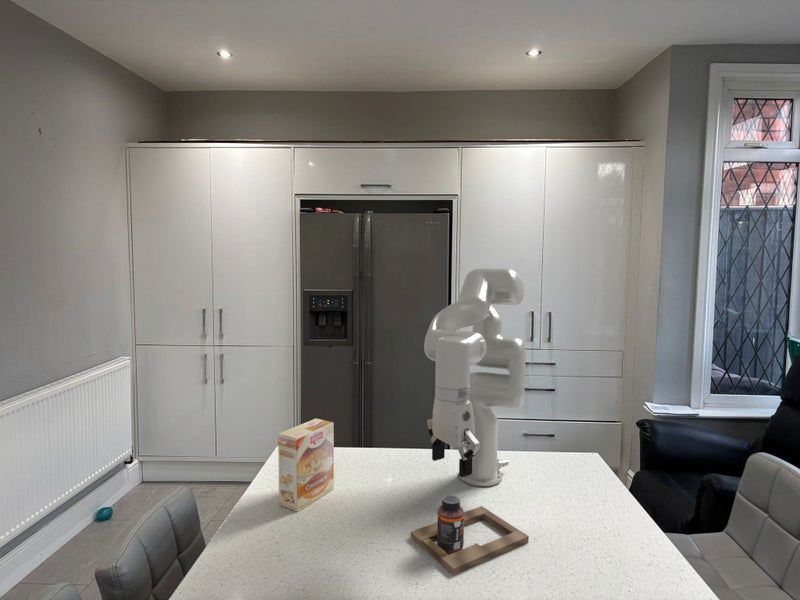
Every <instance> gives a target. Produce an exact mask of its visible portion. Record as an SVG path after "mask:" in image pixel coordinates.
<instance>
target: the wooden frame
mask: <svg viewBox="0 0 800 600" xmlns="http://www.w3.org/2000/svg"><path fill="white" fill-rule="evenodd" d="M483 520H484V521H486V522H487V523H488V524H490V525H491V526H493V527H494V528H496V529H498V530H499V529H500V530H499V531H501V532H502V531H503V532H502V533H503V534H505V535H504V536H501V537H498V538H496V539H494V540H491V541H489V542H487V543H484V544H482V545H480V544H479V543H474V544H472V545H469V546H467V547H463V549H462V550H459V551H457V552H455V553H446V552H445V551H444V550H443V549H441V548H440V547H439V546H438V545H437V543H435V542H437V524H438V523H437V522H438V521H436V522H433V523H431V524H428V525H425V526H422V527H419V528H417V529H414V530H411V531H410V539H411V540H412V541H414V542H415V543H416V544H417V545H418V546H419V547H421V549H423V550H424V551H425V552H426V553H427V554H428V555H430V556H431V557H432V558H433V559H434V560H435V561H436V562H438V563H439V564H440V565H441V566H442V567H444V569H445V570H447V571H448V572H449V573H450V574H451V575H452V576H455V575H458V574H460V573H462V572H464V571H467V570H469V569H471V568H473V567H476V566H477V565H480V564H482V563H485V562H487V561H490V560H491V559H494V558H496V557H498V556H501V555H503V554H506V553H507V552H510V551H512V550H514V549H515V550H516V548H519V547H522V546H523V545H526V544H528V543H529V535H527V534H526V533H525V532H523V531H522V530H520V529H518V528H516V527H515V526H514V525H512V524H510V523H509V522H507V521H506V520H504V519H503V518H501V517H499V516H498V515H497V514H495V513H494V512H491V511H490V510H489V509H487V508H485V507H484V506H483V505H481V506H478V507H476V508H471V509H469V510H467V511H464V527H466V526H469V525H471V524H475V523H477V522H480V521H483ZM476 521H477V522H476ZM474 522H475V523H474ZM506 534H507V535H506Z"/></svg>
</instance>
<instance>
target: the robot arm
mask: <svg viewBox="0 0 800 600" xmlns="http://www.w3.org/2000/svg"><path fill="white" fill-rule="evenodd" d="M523 281H524V280H523V279H522V277H521V276H520V274H518V272H516V271H515V270H513V269H510V268H475V269H472V270H471V271H469V272H468V273H467V275H466V277H465V278H464V281H463V284H462V287H461V290H460V292H459V293H460V294H459V296H458V299H457V301H455V302H453V303H451V304H449V305H447V306H446V307H445V308H443V309H441V311H439V312H438V313H436V315H434V316H433V318H432V320H431V322H430V325H429V327H428V329H427V332H426V334H425V338H424V342H423V343H424V344H423V348H424V349H423V351H424V353H425V356H426V357H427V358H428V359H429V360H430V361H433V362H435V387H434V391H435V392H434V393H435V394H434V395H435V396H434V400H433V409H432V418H431V419H427V420H426V422H427V423H426V425H427V429H428V434H429V436H430V443H431V444H432V445H431V460H432V461H434V462H435V461H439V460H443V459H445V452H446V451H445V449H446V446H445V445H446V444H448V446H451V448H452V447H453V448H455V449H457V451H458V453H459V456H460V457H461V458H459V460H458V461H459V463H458V465H459V466H458V476H459V478H460V479H461V481H463V482H464V483H466V484H469V485H471V486H477V487H491V486H492V487H493V486H496V485H498V484H499V483H501V482H502V480H503V474H502V473H503V472H501V471H500V469H502V468H503V467H507V466H509V460H508V459H506V458H505V459H501V460H500V458H498V442H499V441H498V439H499V437H498V433H499V432H498V431H499V421H498V417H497V414H496V413H495V411H494V410H493V409H492V408H493V407H495V408H504V409H518V408H521V406H522V404H523V402H524V398H525V382H526V381H525V380H526V363H527V351H526V346H525V343H524V341H523V340H522V339H520V338H518V337H514V336H503V335H502V327H503V326H502V323H503V322H502V318H501V315H500V314H499V313H498V312H497V310H496V309H495V307H493V306H492V305H496V306H497V305H499V306H500V305H501V306H517V305H520V304H521V302H522V301H523V300H524V296H525V285H524V282H523ZM468 327H472V331H466V330H460V329H465V328H468ZM471 366H476V367H479V368H486V369H498V370H506V371H508V373H509V374H507V373H506V374H505V373H497V372H496V373H495V372H488V371H473V372H471Z"/></svg>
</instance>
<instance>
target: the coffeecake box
mask: <svg viewBox="0 0 800 600" xmlns="http://www.w3.org/2000/svg"><path fill="white" fill-rule="evenodd" d="M334 426H335V425H334V422H333V421H330V420H329V421H328V420H325V419H320V418H313V419H312V420H309V421H306V422H304V423H301V424H299V425H296V426H294V427H292V428H289V429H286V430H285V431H284V430H283V431H281V432H279V433H278V434H277V438H278V439H277V440H278V441H277V443H278V447H277V448H278V449H277V451H278V505H279V506H281V505H282V506H281V507H285V508H286V507H287V509H289V508H290V509H289V510H291V509H292V510H291V511H293V510H294V511H293V512H296V511H297V512H296V513H298V511H299V512H300V511H302V510H304V509H305V508H306V507H308V506H309V505H311V504H312V503H315V502H316V501H317V500H319V499H321V498H323V496H325V495H327V494H328V493H330V492H331V491H334V489H335V486H334V485H335V480H334V479H335V473H334V472H335V470H334V469H335V467H334V466H335V462H334V461H335V458H334V456H335V455H334V453H335V452H334V451H335V450H334V448H335V447H334V445H335V443H334V442H335V438H334V436H335V435H334V428H335V427H334ZM301 509H302V510H301Z"/></svg>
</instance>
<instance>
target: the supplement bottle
mask: <svg viewBox="0 0 800 600" xmlns="http://www.w3.org/2000/svg"><path fill="white" fill-rule="evenodd" d="M441 500H442V501H441V505H440V506H439V507H438V509H437V521H436V522H437V523H438V524H437V541H436V542H437V543H436V544H437V545H438V546H439V547H440V548H441V549H443V550H444V551H445V552H446V553H447V554H452V553H455V552H457V551H459V550H462V549H464V541H465V539H464V535H465V533H464V532H465V526H464V512H465V511H464V510H465V509H464V508H463V507H462V506H461V499H460V497H458V496H455V495H453V494H452V495H451V494H450V495H448V494H447V495H445V496H443V497H442V498H441Z"/></svg>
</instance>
